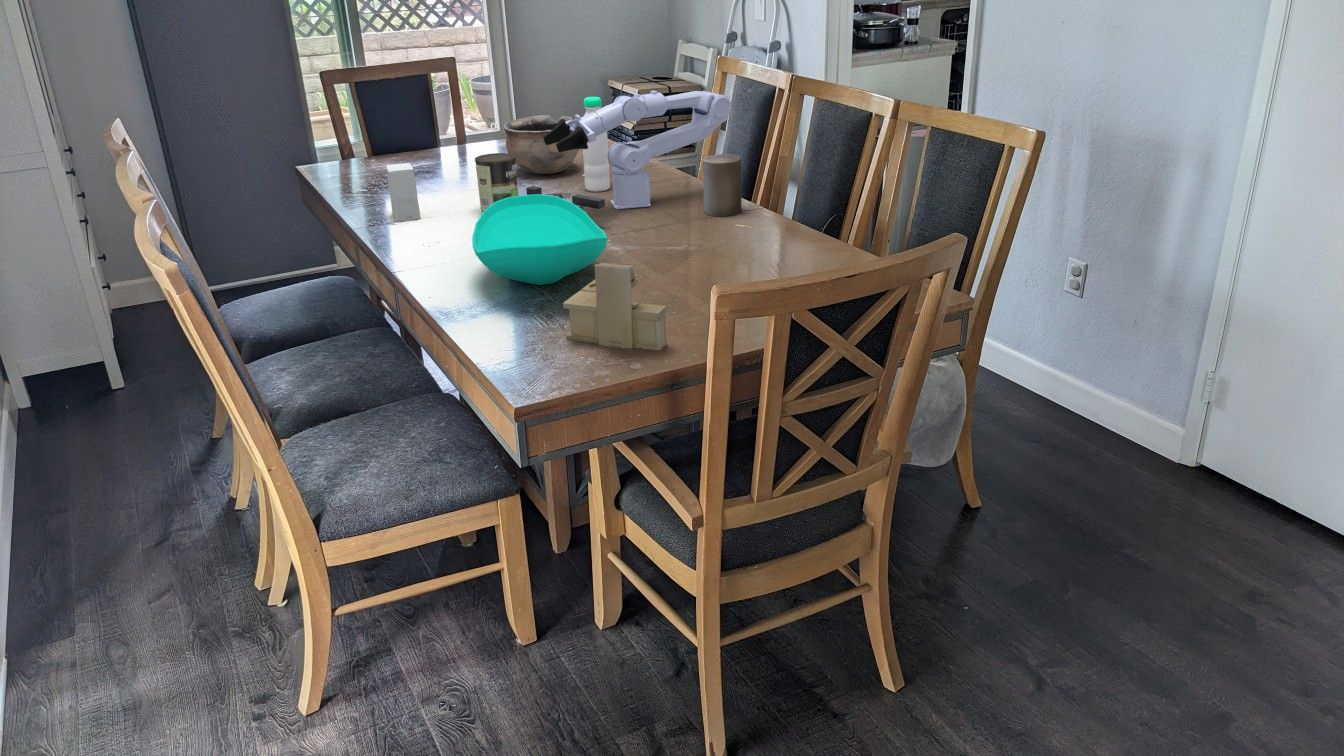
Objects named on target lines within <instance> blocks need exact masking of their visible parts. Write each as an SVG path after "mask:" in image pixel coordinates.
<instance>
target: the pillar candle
mask: <svg viewBox="0 0 1344 756" xmlns="http://www.w3.org/2000/svg"><path fill="white" fill-rule="evenodd" d="M702 171H703V172H702V173H703V176H702V177H703V178H702V179H703V205H704V206H703V208H704V209H703V212H704V214H706V215H708V216H712V217H729V216H736V215H739V214H741V213H742V212H743V211H742V157H741V156H740V155H736V154H724V153H721V154H713V155H708V156H706V157H703V158H702Z"/></svg>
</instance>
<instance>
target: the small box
mask: <svg viewBox="0 0 1344 756" xmlns="http://www.w3.org/2000/svg"><path fill="white" fill-rule="evenodd" d="M385 169H386V177H387V185H388V192H389V197H390V205H391V211H392V217H393V218H394V220H395V222H396V223H398V222H406V221H414V220H419V219H421V212H420V206H419V205H420V204H419V198H418V192H417V184H416V183H417V182H416V176H415V170H414V167H413V165H412V164H411V162H407V163H395V164H386V165H385Z"/></svg>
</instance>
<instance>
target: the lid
mask: <svg viewBox="0 0 1344 756" xmlns="http://www.w3.org/2000/svg"><path fill="white" fill-rule="evenodd" d="M525 191H526V195H535V194H542V195H543V192H542V187H539V186H536V185H535V186H534V185H533V186H528V187H526V189H525ZM545 195H551V196H557V197H559V198H562V199H565V200H567V201H570V202H572V203H573V204H575V205H576V206H577V207H580V206H585V208H590V209H595V210H601V209H604V208H606V201H605V198H600V197H594V196H590V195H589V196H588V195H584V194H578V193H570V192H556V193H555V192H553V193H547V194H545Z"/></svg>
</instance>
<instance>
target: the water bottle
mask: <svg viewBox="0 0 1344 756" xmlns="http://www.w3.org/2000/svg"><path fill="white" fill-rule="evenodd" d="M602 104H603V102H602V99H601V97H599V96H587V97H584V99H583V107H584V108H585V113H584V114H583V116H586V115H588V114H590V113H592V112H594V111H596V110H598V109H601V108H602ZM596 138H597V140H596V141H593V142H591V143H590V142H588V143H587V145H588V149H582V157H583V173H584V188H585V190H586V191H588V192H591V193H592V192H594V193H597V192H605V191H607V190H609V189H610V188H611V180H610V166H609V161H608V158H607V153H608V150H609V143H608V141H609V140H608V131H607V132H605V133H602V134H600V135H598V136H596Z"/></svg>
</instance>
